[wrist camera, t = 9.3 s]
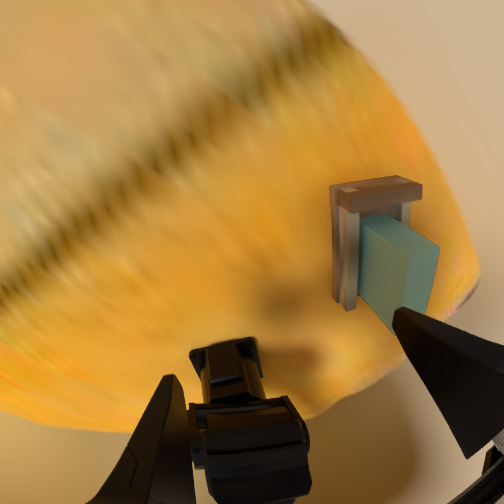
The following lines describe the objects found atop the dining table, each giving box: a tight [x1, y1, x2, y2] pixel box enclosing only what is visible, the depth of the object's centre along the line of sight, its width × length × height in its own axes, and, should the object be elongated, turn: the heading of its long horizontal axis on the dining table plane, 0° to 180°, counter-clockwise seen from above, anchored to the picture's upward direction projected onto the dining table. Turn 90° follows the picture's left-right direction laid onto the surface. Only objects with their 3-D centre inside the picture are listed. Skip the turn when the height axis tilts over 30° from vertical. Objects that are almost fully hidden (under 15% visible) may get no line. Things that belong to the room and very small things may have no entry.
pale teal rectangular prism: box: [357, 213, 440, 336], centre depth 20 cm, size 7×3×7 cm, turn 9°
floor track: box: [330, 175, 422, 312], centre depth 22 cm, size 11×7×3 cm, turn 10°
